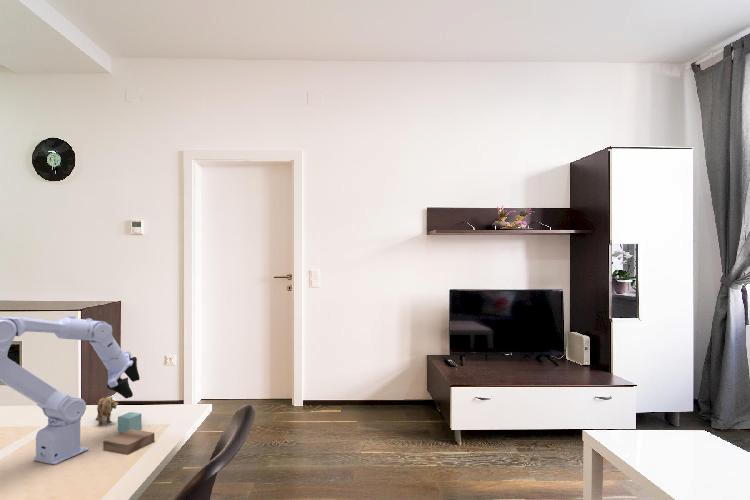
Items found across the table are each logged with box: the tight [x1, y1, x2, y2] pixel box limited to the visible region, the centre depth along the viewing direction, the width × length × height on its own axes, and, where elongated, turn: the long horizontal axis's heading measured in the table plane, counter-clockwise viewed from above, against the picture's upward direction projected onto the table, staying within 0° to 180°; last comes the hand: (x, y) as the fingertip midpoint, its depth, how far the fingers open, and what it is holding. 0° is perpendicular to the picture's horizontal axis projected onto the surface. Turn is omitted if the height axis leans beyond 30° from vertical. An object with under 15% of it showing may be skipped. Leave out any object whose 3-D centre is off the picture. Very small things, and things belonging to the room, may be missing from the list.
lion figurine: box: [95, 396, 119, 427], centre depth 147 cm, size 15×5×9 cm, turn 44°
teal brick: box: [117, 411, 143, 434], centre depth 137 cm, size 4×4×5 cm
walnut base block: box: [102, 429, 155, 455], centre depth 127 cm, size 9×9×2 cm
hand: (133, 388), depth 140 cm, fingers open, 7 cm apart
